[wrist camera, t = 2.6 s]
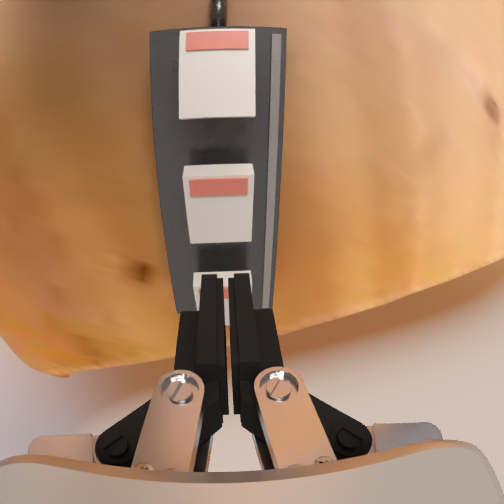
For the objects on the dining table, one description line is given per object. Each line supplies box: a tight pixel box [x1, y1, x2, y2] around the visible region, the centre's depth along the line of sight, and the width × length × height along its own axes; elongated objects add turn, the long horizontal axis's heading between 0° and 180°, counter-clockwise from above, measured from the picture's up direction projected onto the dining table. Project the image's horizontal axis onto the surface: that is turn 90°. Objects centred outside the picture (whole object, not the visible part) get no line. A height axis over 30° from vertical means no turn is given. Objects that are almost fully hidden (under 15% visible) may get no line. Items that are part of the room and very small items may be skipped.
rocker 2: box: [182, 164, 254, 244], centre depth 22 cm, size 6×4×2 cm
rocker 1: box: [179, 29, 256, 120], centre depth 17 cm, size 6×4×2 cm
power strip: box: [150, 0, 287, 313], centre depth 24 cm, size 28×9×4 cm, turn 179°
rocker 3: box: [193, 270, 252, 326], centre depth 26 cm, size 6×4×2 cm
